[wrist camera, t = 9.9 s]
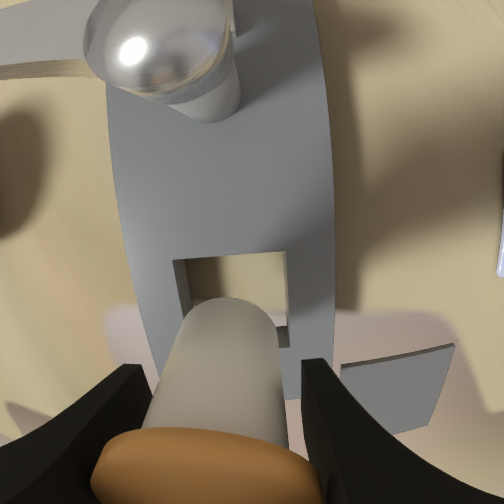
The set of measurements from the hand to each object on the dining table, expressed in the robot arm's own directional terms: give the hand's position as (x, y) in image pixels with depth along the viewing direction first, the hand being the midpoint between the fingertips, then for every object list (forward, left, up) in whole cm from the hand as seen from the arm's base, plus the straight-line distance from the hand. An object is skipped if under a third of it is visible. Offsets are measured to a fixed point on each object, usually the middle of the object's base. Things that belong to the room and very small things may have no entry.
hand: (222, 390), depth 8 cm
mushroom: (0, 0, -3) cm, 3 cm away
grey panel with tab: (0, -4, -7) cm, 8 cm away
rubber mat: (-9, +10, -7) cm, 15 cm away
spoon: (+5, -11, 0) cm, 12 cm away
